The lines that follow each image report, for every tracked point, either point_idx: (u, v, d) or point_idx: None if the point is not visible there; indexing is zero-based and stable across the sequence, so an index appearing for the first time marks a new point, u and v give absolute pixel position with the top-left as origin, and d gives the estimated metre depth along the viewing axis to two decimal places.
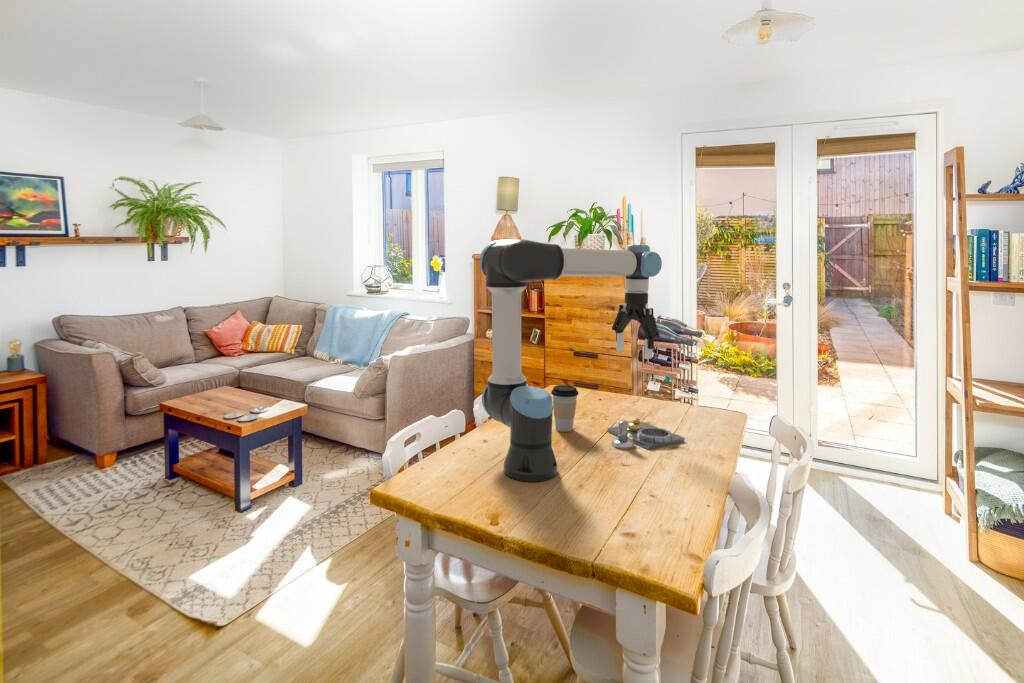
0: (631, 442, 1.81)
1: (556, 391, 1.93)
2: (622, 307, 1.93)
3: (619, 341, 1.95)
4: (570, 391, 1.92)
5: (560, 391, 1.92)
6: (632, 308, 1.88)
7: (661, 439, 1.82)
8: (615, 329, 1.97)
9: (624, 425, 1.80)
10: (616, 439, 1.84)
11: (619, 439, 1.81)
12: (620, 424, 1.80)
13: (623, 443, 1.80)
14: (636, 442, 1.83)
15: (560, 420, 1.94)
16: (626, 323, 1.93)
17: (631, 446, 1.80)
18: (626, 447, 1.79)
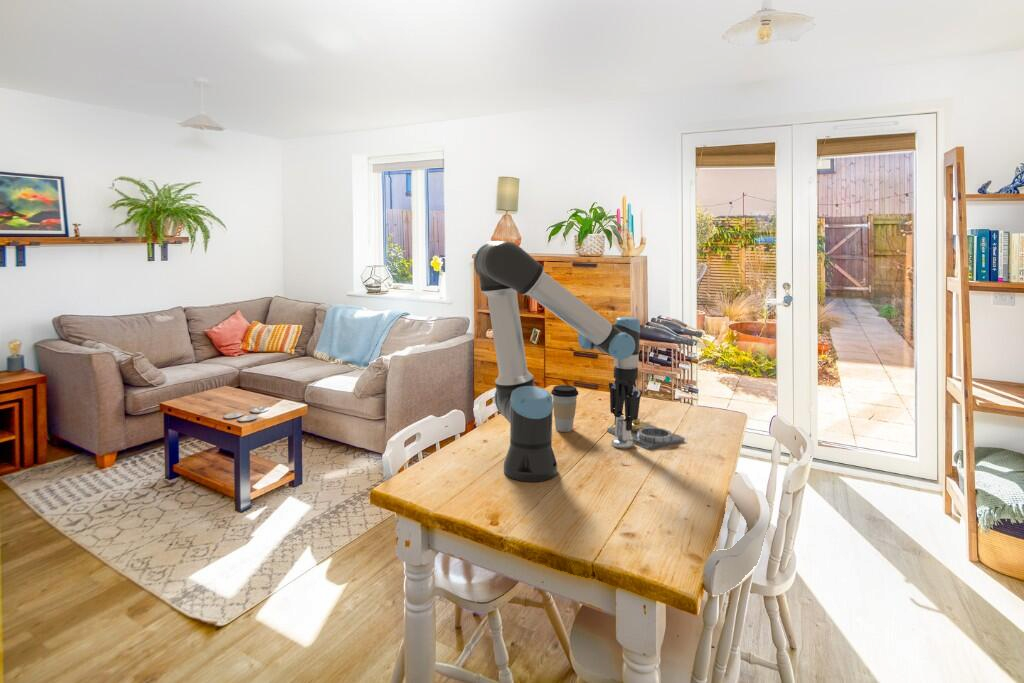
0: (631, 442, 1.81)
1: (556, 391, 1.93)
2: (612, 384, 1.83)
3: None
4: (570, 391, 1.92)
5: (560, 391, 1.92)
6: None
7: (661, 439, 1.82)
8: (614, 412, 1.84)
9: None
10: (616, 439, 1.84)
11: (619, 439, 1.81)
12: (620, 424, 1.80)
13: (623, 442, 1.80)
14: (636, 442, 1.83)
15: (560, 420, 1.94)
16: (621, 402, 1.82)
17: (631, 446, 1.80)
18: (626, 447, 1.79)
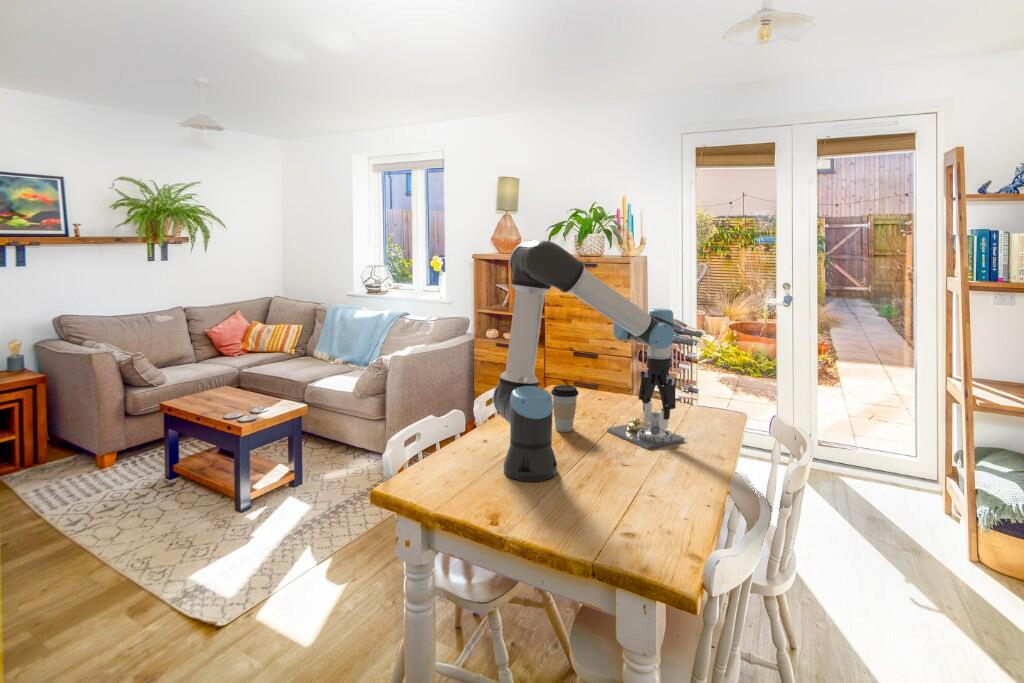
0: (663, 433, 1.86)
1: (556, 391, 1.93)
2: (644, 373, 1.88)
3: (646, 412, 1.89)
4: (570, 391, 1.92)
5: (560, 391, 1.92)
6: (654, 370, 1.83)
7: (661, 439, 1.82)
8: (642, 399, 1.90)
9: (656, 417, 1.85)
10: (648, 431, 1.88)
11: (651, 430, 1.86)
12: (652, 416, 1.85)
13: (656, 434, 1.85)
14: (636, 442, 1.83)
15: (560, 420, 1.94)
16: (651, 390, 1.87)
17: None
18: None
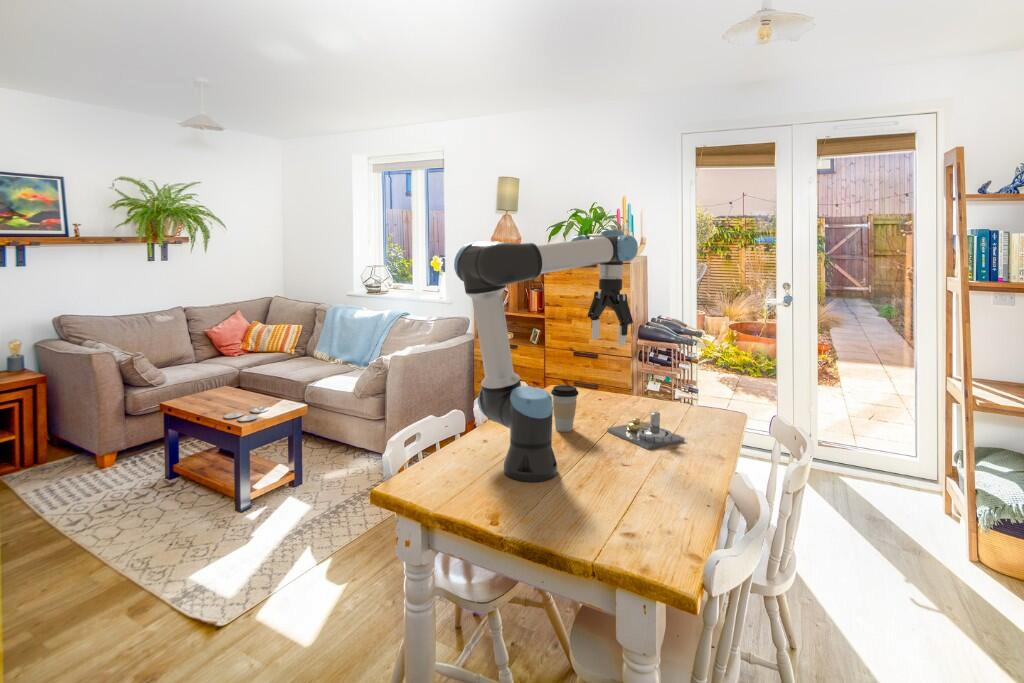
0: (663, 433, 1.86)
1: (556, 391, 1.93)
2: (597, 294, 1.90)
3: (594, 328, 1.93)
4: (570, 391, 1.92)
5: (560, 391, 1.92)
6: (606, 294, 1.86)
7: (661, 439, 1.82)
8: (590, 316, 1.95)
9: (656, 417, 1.85)
10: (648, 431, 1.88)
11: (651, 430, 1.86)
12: (652, 416, 1.85)
13: (656, 434, 1.85)
14: (636, 442, 1.83)
15: (560, 420, 1.94)
16: (601, 310, 1.91)
17: None
18: None
